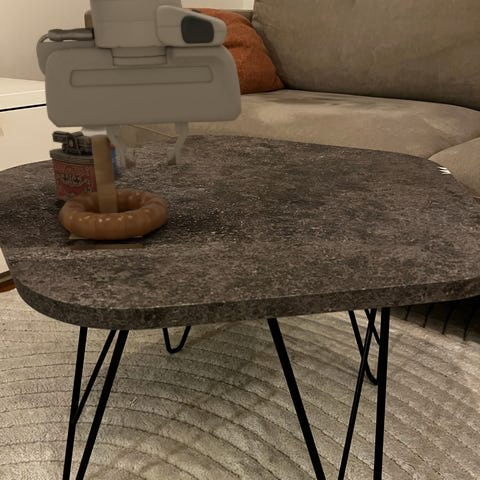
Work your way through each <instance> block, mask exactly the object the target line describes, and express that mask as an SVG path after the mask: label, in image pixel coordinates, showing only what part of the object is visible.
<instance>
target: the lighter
mask: <svg viewBox="0 0 480 480" xmlns="http://www.w3.org/2000/svg"><path fill="white" fill-rule="evenodd" d="M51 136H52V142H53V143H58V144H61V147H60V148H53V149H50V150H49V152H48V153H49V158H50V159H51V162H52V168H53V169H52V170H53V174H54V182H55V187H56V194H57V199H58V200H61V201H63V202H65V203H66V202H67V201H68V200H70V199H72V198H75V197H77V196H80V195H82V194H85V193H89V192H95V191H97V184H96V176H95V168H94V159H93V152H92V143H91V137H90V136H84V135H83V133H82V132H80V131H79V130H78V131H74V132H69V131H64V130H63V131H62V130H53V132H52V133H51Z"/></svg>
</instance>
